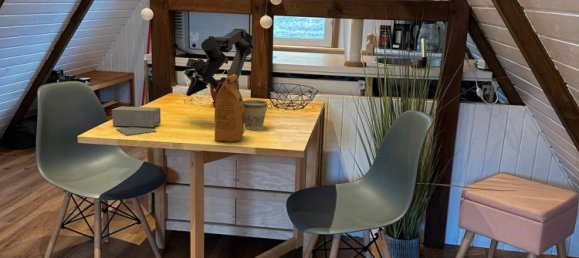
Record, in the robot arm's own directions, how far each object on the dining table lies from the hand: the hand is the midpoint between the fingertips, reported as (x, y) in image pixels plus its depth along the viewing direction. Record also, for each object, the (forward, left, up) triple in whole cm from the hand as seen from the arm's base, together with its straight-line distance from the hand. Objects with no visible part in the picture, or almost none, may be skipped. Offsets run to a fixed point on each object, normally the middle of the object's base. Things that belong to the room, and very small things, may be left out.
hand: (187, 95), depth 197 cm
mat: (+11, +17, -11) cm, 23 cm away
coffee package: (-24, +13, -11) cm, 29 cm away
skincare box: (+8, +8, -8) cm, 14 cm away
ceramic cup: (-26, -7, -11) cm, 29 cm away
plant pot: (+2, -40, -11) cm, 41 cm away
